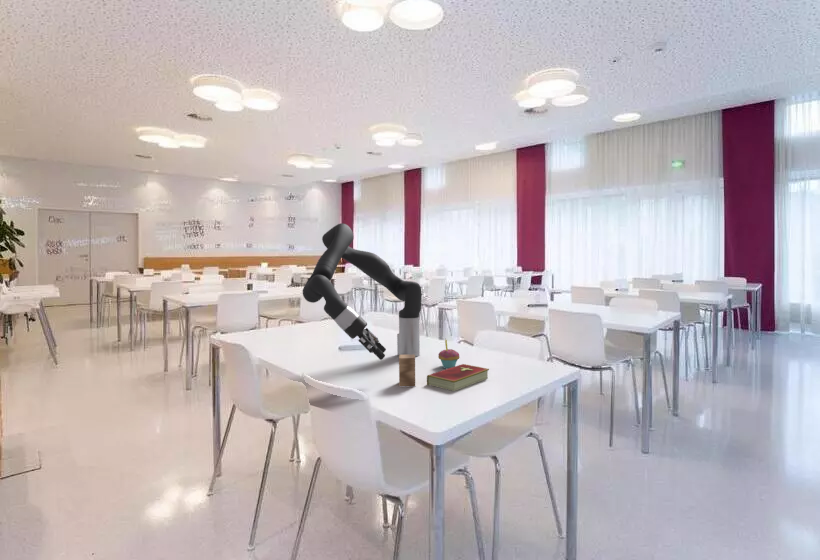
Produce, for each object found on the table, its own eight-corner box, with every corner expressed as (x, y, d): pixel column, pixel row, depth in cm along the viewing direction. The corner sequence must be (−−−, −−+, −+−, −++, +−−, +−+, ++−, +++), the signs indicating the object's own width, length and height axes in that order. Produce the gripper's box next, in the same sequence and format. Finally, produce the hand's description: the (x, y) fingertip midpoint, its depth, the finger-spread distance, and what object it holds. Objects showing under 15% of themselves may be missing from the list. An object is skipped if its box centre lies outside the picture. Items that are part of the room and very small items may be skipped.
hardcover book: (426, 386, 159) (426, 374, 158) (462, 373, 174) (462, 363, 174) (454, 393, 151) (454, 380, 150) (489, 379, 166) (489, 368, 166)
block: (399, 386, 156) (399, 358, 156) (399, 382, 162) (399, 354, 161) (415, 386, 156) (415, 358, 156) (414, 382, 162) (414, 354, 161)
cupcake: (450, 370, 177) (450, 340, 176) (433, 367, 183) (433, 337, 182) (463, 366, 183) (463, 337, 182) (447, 363, 189) (446, 334, 188)
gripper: (345, 325, 164) (377, 357, 165) (340, 333, 150) (375, 367, 151) (360, 311, 164) (391, 342, 165) (356, 318, 150) (391, 352, 151)
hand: (383, 354), depth 158 cm, fingers open, 8 cm apart
